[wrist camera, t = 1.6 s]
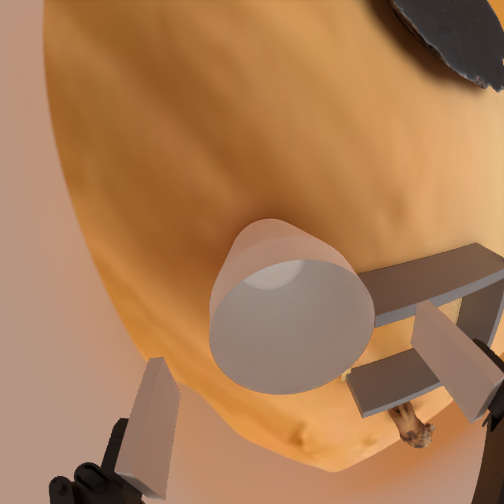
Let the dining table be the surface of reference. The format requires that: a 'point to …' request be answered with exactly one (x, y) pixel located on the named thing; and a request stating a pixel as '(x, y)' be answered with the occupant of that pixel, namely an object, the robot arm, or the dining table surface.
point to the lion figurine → (411, 426)
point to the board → (458, 36)
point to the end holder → (404, 305)
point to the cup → (287, 311)
